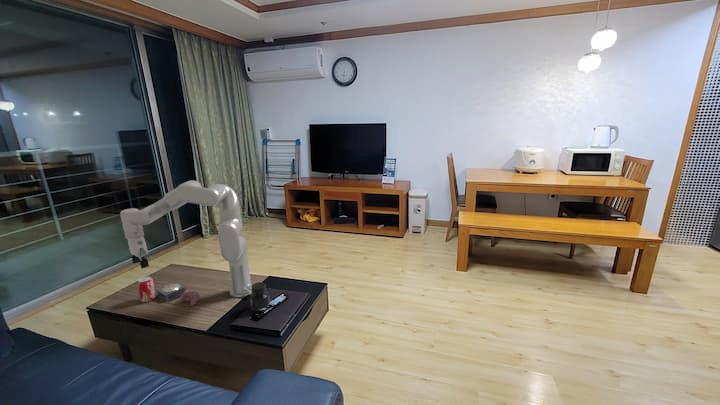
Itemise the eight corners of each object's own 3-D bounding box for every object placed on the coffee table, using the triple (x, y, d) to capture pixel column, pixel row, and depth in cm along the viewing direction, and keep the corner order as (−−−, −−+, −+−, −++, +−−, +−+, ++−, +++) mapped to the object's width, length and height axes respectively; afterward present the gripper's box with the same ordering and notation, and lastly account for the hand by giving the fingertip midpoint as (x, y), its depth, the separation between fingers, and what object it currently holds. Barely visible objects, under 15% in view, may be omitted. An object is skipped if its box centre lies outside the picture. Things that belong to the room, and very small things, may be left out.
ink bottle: (263, 299, 156) (261, 279, 153) (274, 305, 151) (272, 283, 148) (247, 309, 148) (244, 287, 145) (258, 315, 144) (255, 292, 140)
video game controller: (199, 305, 155) (202, 291, 156) (191, 306, 151) (195, 292, 152) (184, 302, 158) (187, 288, 159) (177, 303, 154) (180, 289, 155)
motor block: (187, 293, 163) (186, 286, 162) (167, 302, 155) (166, 295, 154) (174, 286, 171) (173, 279, 170) (154, 294, 164) (153, 287, 162)
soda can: (148, 303, 155) (144, 282, 152) (137, 302, 156) (132, 281, 153) (160, 296, 161) (156, 276, 158) (149, 295, 163) (144, 275, 160)
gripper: (150, 234, 148) (156, 266, 152) (135, 228, 157) (142, 258, 161) (132, 239, 142) (139, 272, 146) (118, 232, 151) (125, 263, 155)
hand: (141, 264), depth 154 cm, fingers open, 9 cm apart
